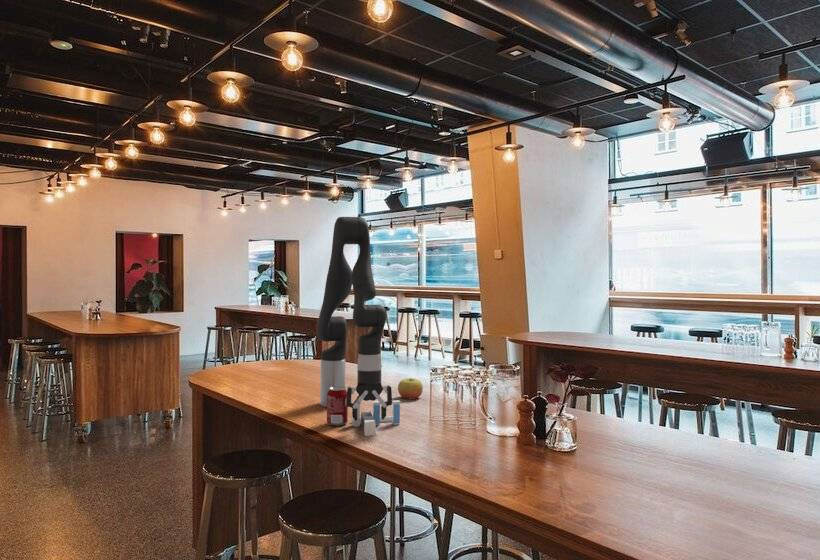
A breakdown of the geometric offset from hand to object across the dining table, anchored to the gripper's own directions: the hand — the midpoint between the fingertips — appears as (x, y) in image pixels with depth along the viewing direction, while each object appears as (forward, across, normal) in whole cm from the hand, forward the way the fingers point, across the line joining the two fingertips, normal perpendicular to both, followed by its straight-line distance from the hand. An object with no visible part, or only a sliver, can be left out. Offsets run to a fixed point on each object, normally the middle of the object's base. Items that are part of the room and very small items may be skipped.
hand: (369, 419), depth 178 cm
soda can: (+4, +9, -11) cm, 15 cm away
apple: (+4, -21, -44) cm, 49 cm away
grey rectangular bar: (+4, 0, -3) cm, 5 cm away
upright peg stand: (+4, -3, -9) cm, 11 cm away
